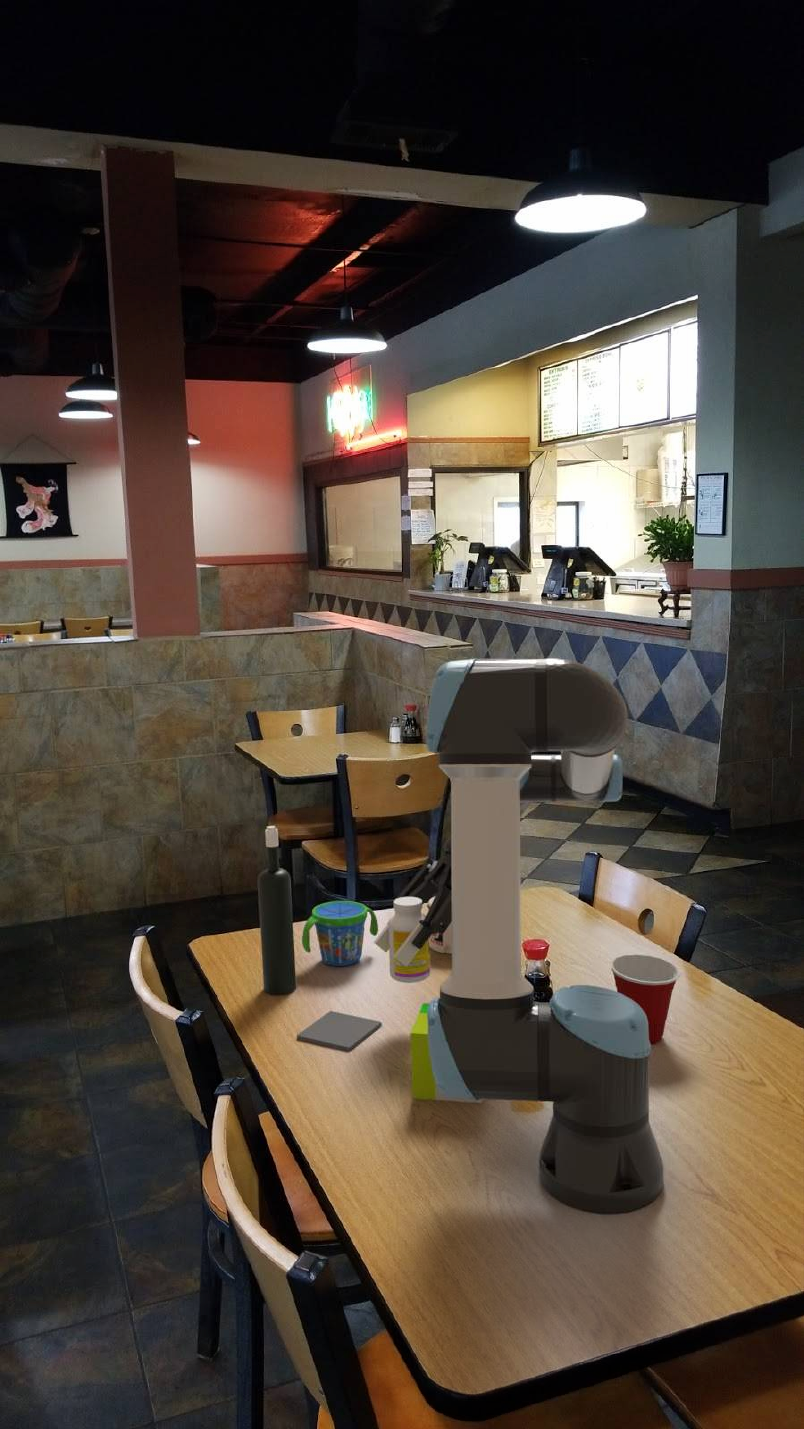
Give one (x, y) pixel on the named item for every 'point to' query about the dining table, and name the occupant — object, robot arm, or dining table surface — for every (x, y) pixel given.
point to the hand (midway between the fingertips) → (389, 954)
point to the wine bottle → (276, 922)
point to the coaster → (339, 1030)
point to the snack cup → (339, 931)
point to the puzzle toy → (426, 1064)
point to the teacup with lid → (441, 937)
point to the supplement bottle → (398, 933)
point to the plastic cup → (647, 987)
